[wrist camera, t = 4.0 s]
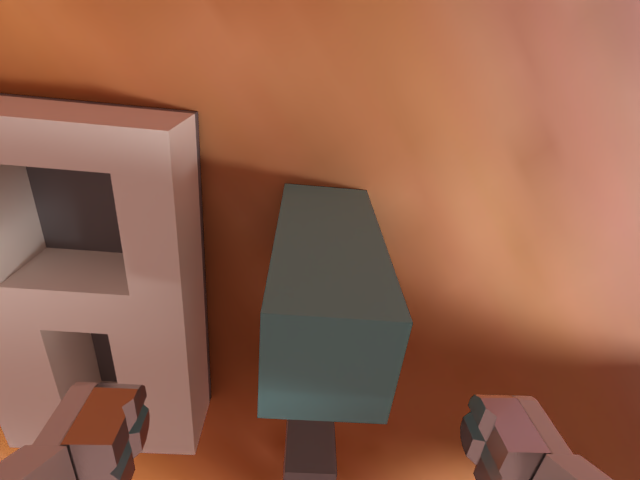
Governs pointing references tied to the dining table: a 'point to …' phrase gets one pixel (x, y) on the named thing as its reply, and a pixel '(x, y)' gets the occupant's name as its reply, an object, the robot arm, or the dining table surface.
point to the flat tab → (310, 450)
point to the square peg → (330, 312)
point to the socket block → (102, 263)
